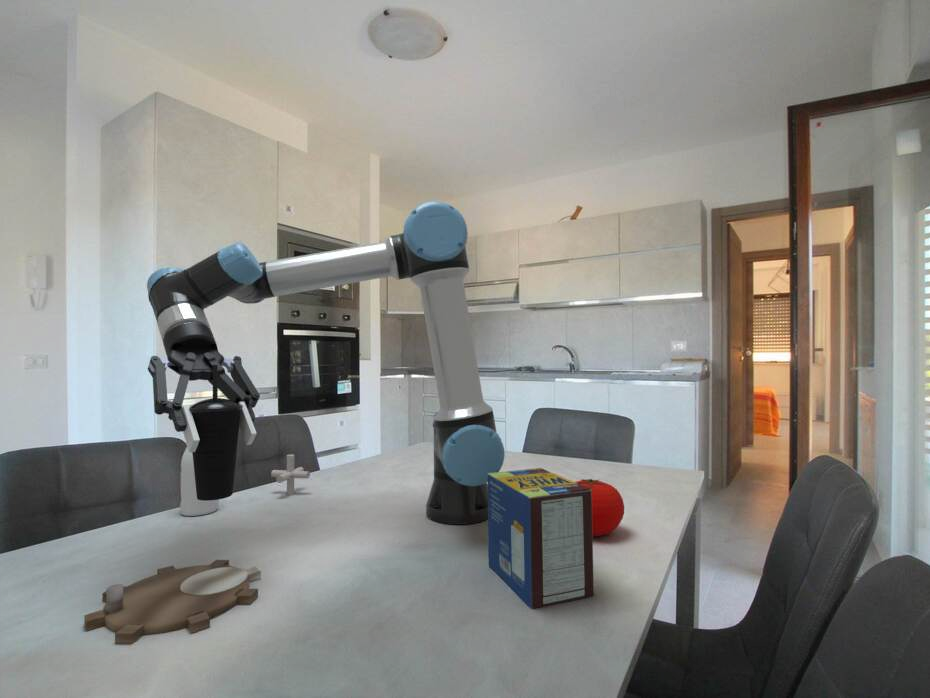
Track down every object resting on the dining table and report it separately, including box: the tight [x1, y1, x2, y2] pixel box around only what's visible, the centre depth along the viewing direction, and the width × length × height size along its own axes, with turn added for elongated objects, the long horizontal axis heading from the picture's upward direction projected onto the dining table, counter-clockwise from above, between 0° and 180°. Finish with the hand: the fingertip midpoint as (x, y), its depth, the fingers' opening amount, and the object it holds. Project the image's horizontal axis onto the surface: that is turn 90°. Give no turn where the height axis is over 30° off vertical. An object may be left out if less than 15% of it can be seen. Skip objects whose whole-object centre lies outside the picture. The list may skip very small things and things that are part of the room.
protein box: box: [487, 467, 595, 609], centre depth 75 cm, size 10×15×16 cm
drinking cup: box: [189, 365, 243, 501], centre depth 73 cm, size 8×8×20 cm
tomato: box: [574, 478, 625, 537], centre depth 95 cm, size 12×12×10 cm
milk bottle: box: [179, 446, 220, 517], centre depth 111 cm, size 8×8×20 cm
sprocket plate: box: [83, 559, 262, 645], centre depth 70 cm, size 22×22×4 cm
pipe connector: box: [270, 454, 311, 496], centre depth 125 cm, size 10×10×10 cm
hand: (224, 442), depth 71 cm, fingers closed on drinking cup, 7 cm apart
